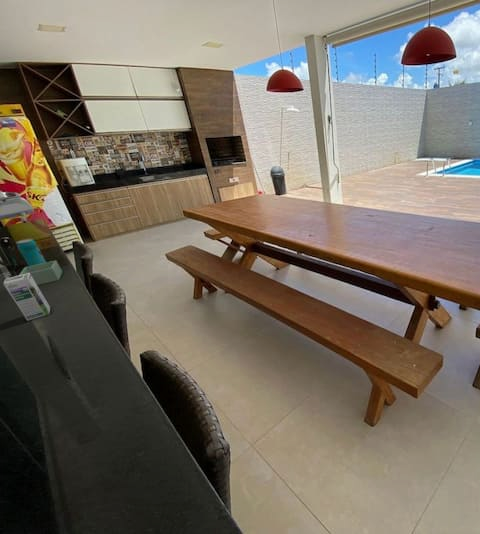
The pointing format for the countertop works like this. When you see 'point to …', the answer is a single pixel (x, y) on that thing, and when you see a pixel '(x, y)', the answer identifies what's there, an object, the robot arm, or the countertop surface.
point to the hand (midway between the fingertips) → (11, 225)
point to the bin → (44, 272)
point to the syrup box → (27, 296)
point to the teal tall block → (30, 252)
